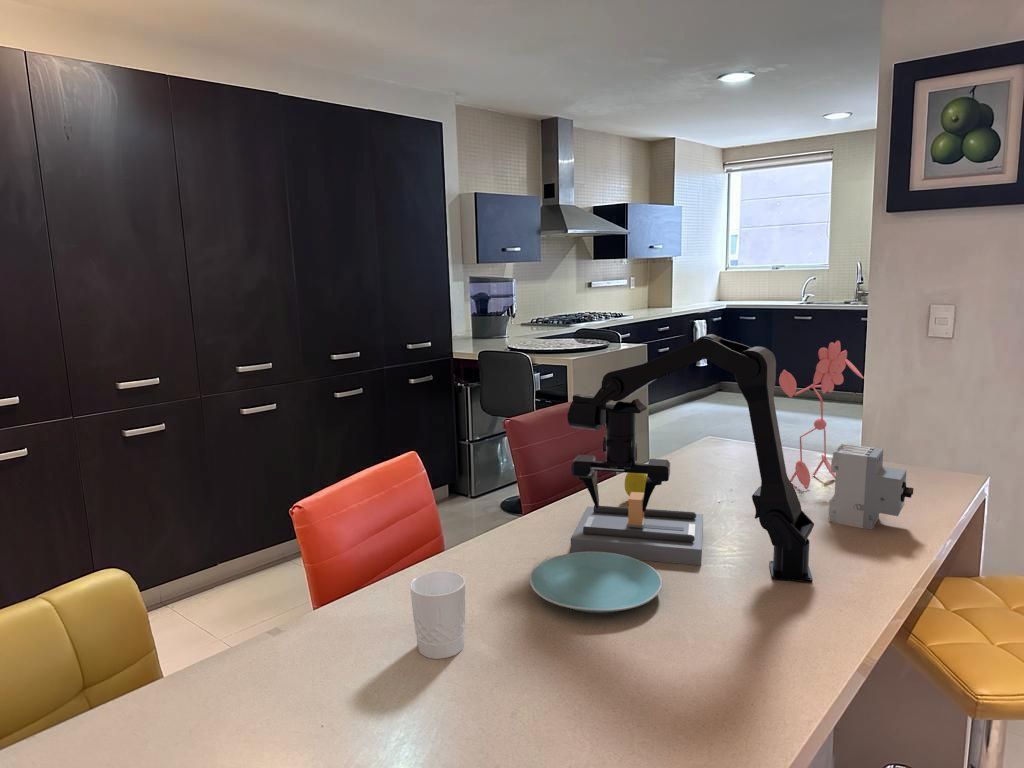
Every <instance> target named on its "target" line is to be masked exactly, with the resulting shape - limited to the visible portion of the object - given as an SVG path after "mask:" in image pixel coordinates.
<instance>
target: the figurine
mask: <svg viewBox="0 0 1024 768" xmlns="http://www.w3.org/2000/svg"><path fill="white" fill-rule="evenodd" d="M841 348H842V347H841V341H840V340H836V341H835V342H830V343H829V345H828V348H826V347H820V348H819V350H818V359H819V362H818V363H817V364H816V366H815V373H814V375H813V379H812V380H813V383H812V384H810V385H809V386H807V387H805V388H803V389H801V390H799V391H797V387H798V386H797V381H796V379H795V377H794V376H793V375H792V373H791V372H788V371H787V370H786V369H783V370H782V372H781V373H779V374H780V375H779V378H778V384H779V386H780V388H781V390H782V391H783V392H784V393H785V394H786V395H787V396H788V398H790V399H791V398H793V396H798V395H800V394H802V393H804V392H805V391H808V390H809V389H813V392H815V394H816V396H817V397H818V399H819V400H820V405H819V406H820V418H816V420H815V421H814V422H813V426H814V428H812V429H811V430H809V431H807V432H806V433H804V434H802V435H800V436H799V453H800V455H799V456H800V457H799V458H800V460H798V461H797V462H795V471H794V473H793V475H792V476H791V478H790V479H789V480H790V482H793V481H794V479H795V477H796V476H797V477H796V478H797V479H798V481H799V482H800V484H801V485H802V486H803V488H805V489H804V490H806V489H807V490H808V489H809V486H810V483H811V473H810V470H809V469H808V467H807V465H806V463H805V462H804V461H803V451H802V450H803V449H802V447H803V443H802V437H805V436H807V435H808V434H810V433H812V432H813V431H816V430H818V431H822V430H823V445H824V446H823V449H824V451H823V452H824V454H821V455H820V456H821V460H820V462H819V464H818V466H817V467H816V469H815V470H814V472H813V473H812V476H813V475H814V476H813V477H816V474H817V473H818V472H819V470H820V468H821V466H822V465H823V463H824V465H825V467H826V469H827V470H828V472H829V473H830V475H831V476H832V477H833V478H834V479H835V478H836V473H834V472H831V464H830V462H829V460H828V458H827V448H826V447H827V443H826V441H827V439H826V436H827V434H826V433H827V432H826V427H827V421H826V420H825V419H824V411H823V410H824V401H823V398H822V396H821V394H820V393H819V392H818V390H817V389H816V388H820V389H821V393H822V394H826V393H827V392H828V393H832V392H833V391H834V388H835V385H838V386H841V385H842V384H844V380H845V379H844V375H843V371H844V370H845V369H846V366H848V367H849V369H850V370H851V371H852V372H853V373H854V374H855V375H856V376H857V377H860V379H865V377H864V376H863V375H862V373H861V372H860V371H859V369H858V368H857V367H856V366H855V365H854V364H853V363H852V362H851V361H850V360H848V351H847V349H844V350H843V351H841V350H842V349H841ZM819 383H821V384H819ZM796 391H797V392H796Z"/></svg>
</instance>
